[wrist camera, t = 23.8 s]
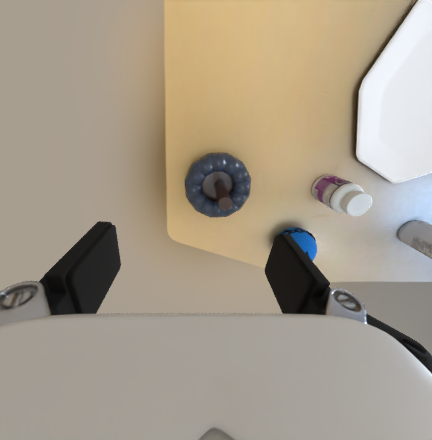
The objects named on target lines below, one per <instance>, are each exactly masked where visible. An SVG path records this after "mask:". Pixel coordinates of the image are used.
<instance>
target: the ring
mask: <svg viewBox="0 0 432 440" xmlns="http://www.w3.org/2000/svg"><path fill="white" fill-rule="evenodd" d="M213 172H224V173H226V174H228V175H230V177H231V179H232V180H233V182H234V187H233V192H232V193H231V195H230V198H231V200H232V206H231V208H229V209H228V210H222V209H221V208H220V207H219V205H218V201H212V200H210V199H208V198H207V197H206V196H205V194H204V193H203V188H202V184H203V182H204V180H205V178H206V176H208V175H210V174H211V173H213ZM250 184H251V178H250V175H249V173H248V171H247V169H246V167H245V165H244V164H243V162H242V161H240V160H238V159H237V158H235V157H233V156H232V155H230V154H228V153H209V154H207V155H205V156H203V157H202V158H200V159H199V160H197V161H196V162H194V163H193V164H192V166H191V168H190V170H189V172H188V174H187V176H186V178H185V189H186V197H187V199H188V200H189V202H190V203H191V204H192V206H193V207H194V209H195V210H196V211H198V212H200V213H202V214H204V215H206V216H209V217H227V216H229V215H231V214H232V213H234V212H236V211H238V210H239V209H241V207H242V206H243V204H244V203H245V201H246V200H247V198H248V197H249V195H250Z"/></svg>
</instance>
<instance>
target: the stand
mask: <svg viewBox="0 0 432 440" xmlns="http://www.w3.org/2000/svg"><path fill="white" fill-rule="evenodd" d="M233 187H234V182H233V180H232V179H231V177H230V175H228V174H226V173H224V172H213V173H211V174H210V175H208V176H206V178H205V180H204V182H203V184H202V188H203V193H204V194H205V196H206V197H207V198H208V199H210V200H212V201H218V205H219V207H220V208H221V209H222V210H228V209H229V208H231V206H232V200H231V198H230V195H231V193H232V192H233Z"/></svg>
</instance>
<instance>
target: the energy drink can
mask: <svg viewBox="0 0 432 440" xmlns="http://www.w3.org/2000/svg"><path fill="white" fill-rule="evenodd" d="M398 236H399V237H400V240H401V241H402V242H404V243H405V244H407V245H409V246H410V247H412V248H414V249H416V250H417V251H419V252H421V253H423V254H424V255H426V256H428V257H429V258H431V259H432V225H430V224H428V223H426V222H423V221H410V222H408V223H406V224H405V225H403V226H402V227H401V228H400V230H399V232H398Z"/></svg>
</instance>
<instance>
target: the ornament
mask: <svg viewBox="0 0 432 440" xmlns="http://www.w3.org/2000/svg"><path fill="white" fill-rule="evenodd" d="M280 233H285V234H290V235H291V236H292V237H293V239H294V240H295V241H296V242H297V243H298V245H299V246H300V247H301V248H302V250H303V251H304V252H305V253H306V254H307V256H308V257H309V258H310V259H311V260H312V261H313V259H314V258H315V256H316V253H317V245H316V242H315V241H316V240H315V238H314V236H313V235H312V234H311V233H309V232H308V231H305V230H303V229H301V228H288V229H285V230H283V231H282V232H280ZM280 233H279V234H280Z"/></svg>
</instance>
